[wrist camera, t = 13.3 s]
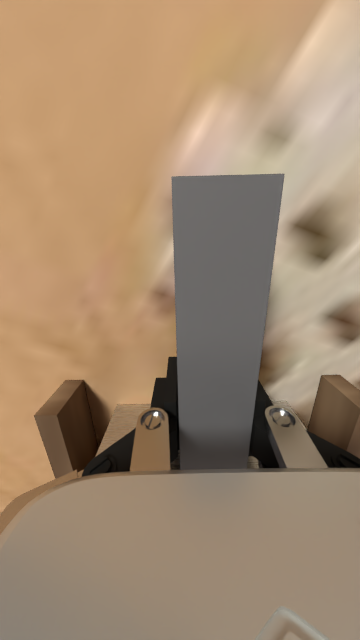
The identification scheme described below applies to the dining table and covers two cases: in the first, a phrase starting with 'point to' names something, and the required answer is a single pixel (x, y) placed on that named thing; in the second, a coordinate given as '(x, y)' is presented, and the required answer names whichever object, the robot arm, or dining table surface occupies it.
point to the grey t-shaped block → (217, 315)
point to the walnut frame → (81, 446)
